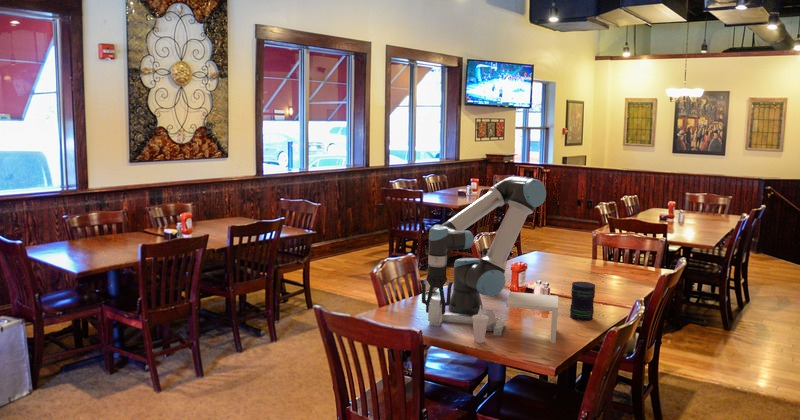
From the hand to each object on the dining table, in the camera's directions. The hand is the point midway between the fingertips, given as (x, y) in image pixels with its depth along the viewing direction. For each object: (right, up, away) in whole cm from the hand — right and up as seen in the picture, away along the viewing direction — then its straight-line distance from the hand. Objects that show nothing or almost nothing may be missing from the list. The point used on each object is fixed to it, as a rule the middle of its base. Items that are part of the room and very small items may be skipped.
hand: (435, 320), depth 281 cm
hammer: (+13, -2, -1) cm, 13 cm away
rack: (+38, -4, -7) cm, 39 cm away
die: (+20, -3, -4) cm, 21 cm away
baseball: (+1, +6, +52) cm, 52 cm away
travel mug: (+30, +6, +61) cm, 68 cm away
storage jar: (+64, -1, +16) cm, 66 cm away
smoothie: (+16, -5, -19) cm, 25 cm away
